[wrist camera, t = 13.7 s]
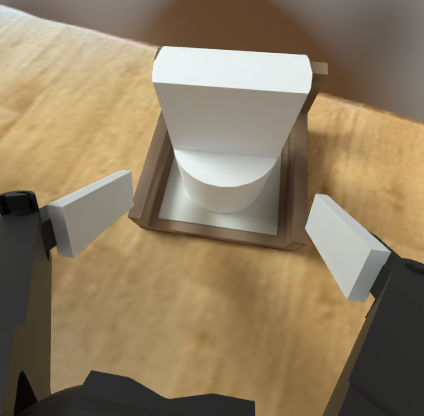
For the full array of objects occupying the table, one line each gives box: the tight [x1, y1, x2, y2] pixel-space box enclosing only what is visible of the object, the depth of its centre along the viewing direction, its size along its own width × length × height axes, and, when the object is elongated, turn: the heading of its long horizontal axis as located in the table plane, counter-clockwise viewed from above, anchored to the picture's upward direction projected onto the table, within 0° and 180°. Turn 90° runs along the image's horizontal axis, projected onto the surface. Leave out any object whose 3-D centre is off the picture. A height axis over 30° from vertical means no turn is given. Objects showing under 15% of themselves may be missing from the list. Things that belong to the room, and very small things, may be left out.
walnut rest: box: [128, 48, 328, 251], centre depth 21 cm, size 16×16×8 cm
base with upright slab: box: [152, 46, 312, 213], centre depth 18 cm, size 9×9×12 cm
